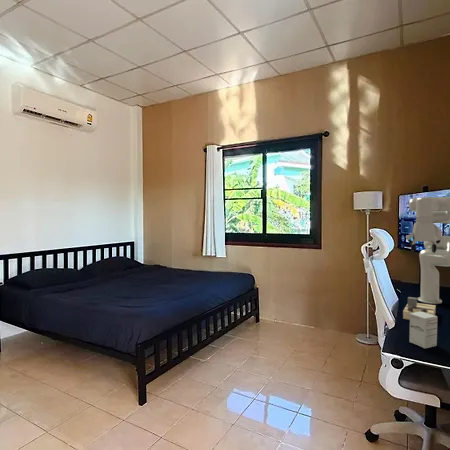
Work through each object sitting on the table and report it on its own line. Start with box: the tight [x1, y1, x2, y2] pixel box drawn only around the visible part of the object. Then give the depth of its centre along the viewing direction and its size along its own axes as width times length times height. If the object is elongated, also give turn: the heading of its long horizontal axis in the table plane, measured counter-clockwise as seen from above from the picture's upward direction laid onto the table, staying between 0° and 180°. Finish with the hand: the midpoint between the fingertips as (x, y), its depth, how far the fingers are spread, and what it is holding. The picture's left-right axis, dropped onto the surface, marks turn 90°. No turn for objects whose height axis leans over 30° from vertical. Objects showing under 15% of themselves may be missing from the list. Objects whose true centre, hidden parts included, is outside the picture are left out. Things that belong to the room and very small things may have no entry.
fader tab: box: [407, 296, 418, 307], centre depth 176 cm, size 3×4×4 cm
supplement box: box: [408, 311, 438, 349], centre depth 138 cm, size 7×7×13 cm
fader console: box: [402, 302, 437, 321], centre depth 174 cm, size 20×13×6 cm, turn 144°
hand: (423, 252), depth 178 cm, fingers open, 9 cm apart
